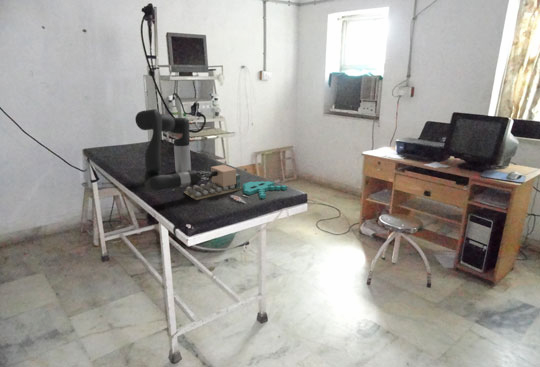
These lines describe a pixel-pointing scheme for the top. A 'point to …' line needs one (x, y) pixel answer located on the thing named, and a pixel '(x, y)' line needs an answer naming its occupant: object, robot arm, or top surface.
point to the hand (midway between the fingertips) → (216, 173)
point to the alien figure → (260, 188)
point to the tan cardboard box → (224, 175)
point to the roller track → (211, 189)
